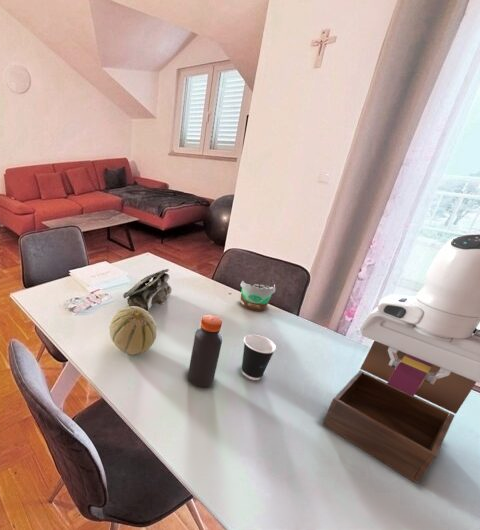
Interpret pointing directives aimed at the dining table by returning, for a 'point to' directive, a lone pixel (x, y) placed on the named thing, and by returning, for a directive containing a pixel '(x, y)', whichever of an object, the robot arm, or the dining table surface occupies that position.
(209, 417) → the dining table surface
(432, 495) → the dining table surface
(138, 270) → the dining table surface
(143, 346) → the cantaloupe
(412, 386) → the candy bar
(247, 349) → the dixie cup
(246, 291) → the food container
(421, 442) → the chest
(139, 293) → the hollow geode rock
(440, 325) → the robot arm
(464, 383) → the lid
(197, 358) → the bottle
